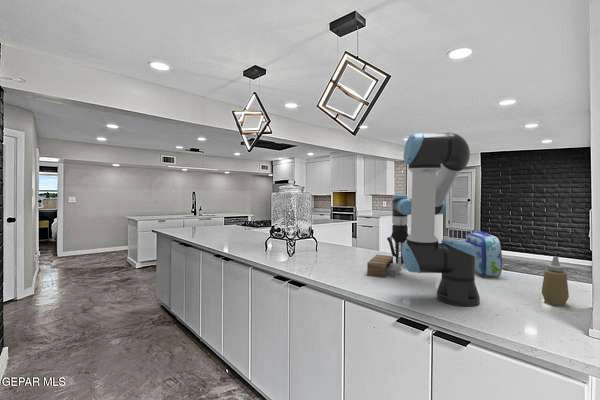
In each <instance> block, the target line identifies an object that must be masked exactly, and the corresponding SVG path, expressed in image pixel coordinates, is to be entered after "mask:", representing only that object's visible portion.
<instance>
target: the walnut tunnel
mask: <svg viewBox="0 0 600 400" xmlns="http://www.w3.org/2000/svg"><path fill="white" fill-rule="evenodd" d="M388 263H394V256H392V255H387V254H376V255H374V256H373V257H372V258H371V259H370V260H369V261H367V263H366V264H367V268H366V269H367V272H366V273H367V277H368V276H369V277H374V278H375V277H377V278H385V279H386V278H387V276H386V266H387V264H388Z"/></svg>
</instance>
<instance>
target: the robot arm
mask: <svg viewBox="0 0 600 400" xmlns="http://www.w3.org/2000/svg"><path fill="white" fill-rule="evenodd" d="M470 158H471V150H470V146H469V144H468V142H467V141H466V140H465V138H464V137H463V136H461V135H459V134H457V133H454V132H419V133H416V132H415V133H412V134H410V135H409V136H408V137H407V140H406V142H405V146H404V149H403V162H404V164H405V165H407V168H408V170H409V171H410V172H411V176H412V177H411V198H408V195H407V194H393V195H392V199H391V202H392V203H391V204H392V210H391V211H392V214H391V215H392V217H391V218H392V221H391V223H392V224H393V225H392V227H391V231H392V232H391V235H390V236H388V237H387V238H386V240H387V242H388V243H389V248H390V251H391V256H393V257H395V263H396V264H398V271H400V272H401V271H402V270H403V267H402V265H404V266H405V269H406V270H407V271H408V272H409V273H417V274H441V278H440V281H439V283H438V287H437V290H436V299H437V300H439V301H441V302H442V303H445V304H448V305H453V306H457V307H458V306H459V307H475V306H478V305H480V300H481V299H480V294H479V291H478V288H477V285H476V282H475V279H476V277H475V276H476V272H475V257H476V256H475V247H474V246H473V245H472V244H470V243H467V242H466V241H462V240H457V239H450V238H449V239H448V238H443V239H442V240H441V242H439V239H438V237H437V236H435V224H436V222H435V219H436V216H437V215H444V214H445V213H446V211H447V201H446V199H447V197H448V194H449V193H450V191H451V190H452V188H453V185H454V183H456V180H457V178H458V177H459V174H460V173H461V171H463V170H465V168H466V167H467V166H468V164H469V161H470ZM409 215H410V217H411V218H410V227H411V234H410V235H408V227H409V226H408V223H409V221H408V217H409ZM393 240H394V243H395V242H396V244H395V246H394V243H393ZM406 240H407V242H405V241H406ZM399 242H400V245H401V251H400V250H399ZM394 247H395V248H394Z"/></svg>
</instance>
